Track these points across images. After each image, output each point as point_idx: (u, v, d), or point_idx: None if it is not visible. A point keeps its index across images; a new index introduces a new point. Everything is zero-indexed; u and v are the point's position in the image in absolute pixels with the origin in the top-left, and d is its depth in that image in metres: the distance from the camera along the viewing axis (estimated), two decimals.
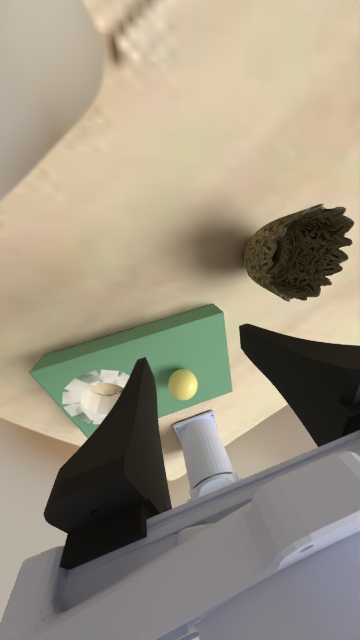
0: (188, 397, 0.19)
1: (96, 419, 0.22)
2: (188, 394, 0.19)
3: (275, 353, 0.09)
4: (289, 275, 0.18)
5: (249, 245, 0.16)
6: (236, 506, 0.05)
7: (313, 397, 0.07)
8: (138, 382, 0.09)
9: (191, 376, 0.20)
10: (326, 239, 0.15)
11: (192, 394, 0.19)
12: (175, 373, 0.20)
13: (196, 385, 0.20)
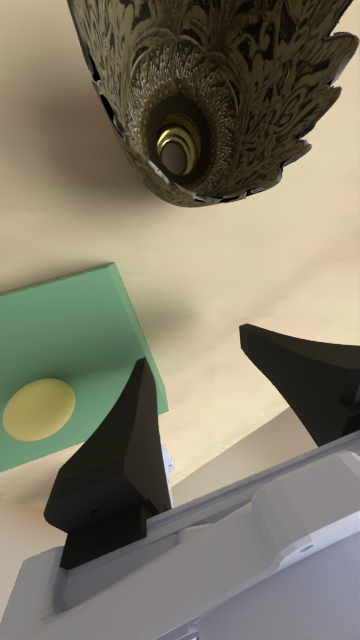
0: (34, 437, 0.10)
1: None
2: (28, 432, 0.09)
3: (275, 353, 0.09)
4: (230, 182, 0.09)
5: None
6: (236, 506, 0.05)
7: (313, 397, 0.07)
8: (138, 382, 0.09)
9: (47, 394, 0.10)
10: (297, 28, 0.05)
11: (44, 430, 0.10)
12: (22, 388, 0.10)
13: (59, 411, 0.10)
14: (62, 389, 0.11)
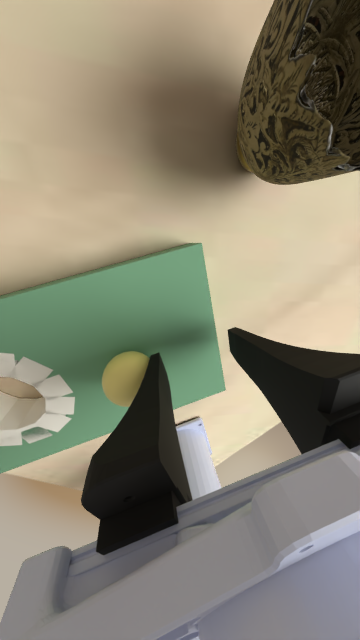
0: (131, 402, 0.10)
1: None
2: (128, 396, 0.10)
3: (260, 358, 0.09)
4: None
5: (247, 68, 0.07)
6: (236, 506, 0.05)
7: (295, 404, 0.07)
8: (156, 376, 0.09)
9: (141, 363, 0.11)
10: None
11: None
12: (115, 357, 0.11)
13: None
14: None
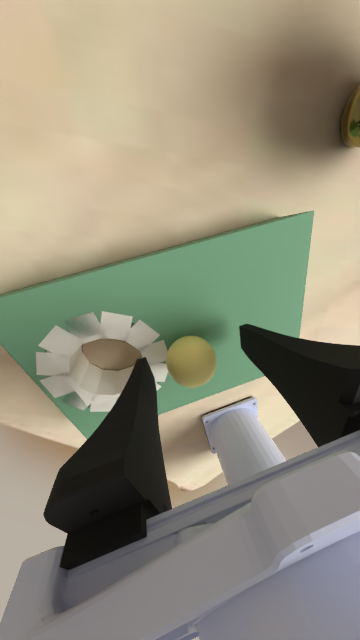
0: None
1: (95, 403, 0.14)
2: None
3: (275, 353, 0.09)
4: None
5: None
6: (236, 506, 0.05)
7: (313, 397, 0.07)
8: (138, 382, 0.09)
9: (171, 359, 0.11)
10: None
11: None
12: (195, 342, 0.11)
13: (168, 369, 0.12)
14: (176, 372, 0.10)
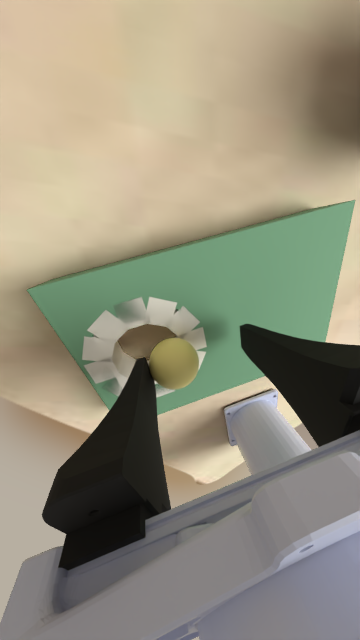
0: (198, 360, 0.12)
1: None
2: None
3: (275, 352, 0.09)
4: None
5: None
6: (236, 506, 0.05)
7: (314, 397, 0.07)
8: (137, 382, 0.09)
9: None
10: None
11: None
12: (159, 347, 0.11)
13: None
14: None
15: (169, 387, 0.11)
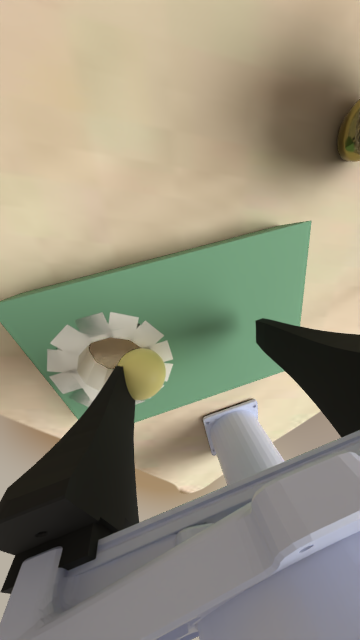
0: (165, 368, 0.13)
1: None
2: None
3: (296, 345, 0.09)
4: None
5: None
6: (236, 506, 0.05)
7: (339, 387, 0.07)
8: (110, 392, 0.09)
9: None
10: None
11: None
12: (126, 358, 0.11)
13: None
14: None
15: (138, 397, 0.11)
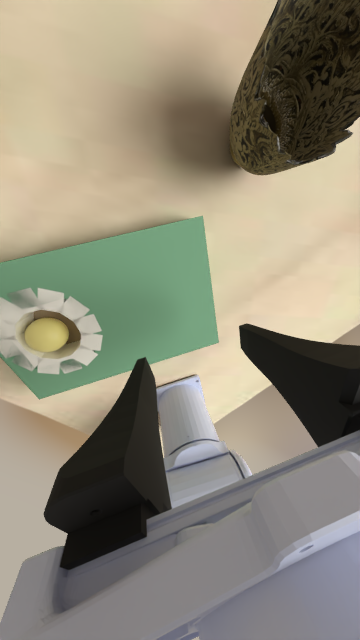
0: (27, 338, 0.16)
1: (41, 365, 0.17)
2: (28, 332, 0.16)
3: (275, 353, 0.09)
4: (290, 159, 0.14)
5: (235, 96, 0.12)
6: (236, 506, 0.05)
7: (313, 397, 0.07)
8: (138, 382, 0.09)
9: (52, 323, 0.16)
10: (345, 71, 0.10)
11: (31, 337, 0.16)
12: None
13: (45, 335, 0.16)
14: (60, 329, 0.17)
15: None
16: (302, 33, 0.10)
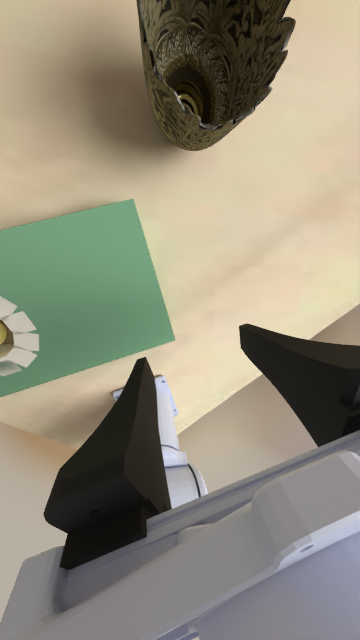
0: None
1: None
2: None
3: (275, 353, 0.09)
4: None
5: None
6: (236, 506, 0.05)
7: (313, 397, 0.07)
8: (138, 382, 0.09)
9: None
10: (263, 15, 0.09)
11: None
12: None
13: None
14: None
15: None
16: None
